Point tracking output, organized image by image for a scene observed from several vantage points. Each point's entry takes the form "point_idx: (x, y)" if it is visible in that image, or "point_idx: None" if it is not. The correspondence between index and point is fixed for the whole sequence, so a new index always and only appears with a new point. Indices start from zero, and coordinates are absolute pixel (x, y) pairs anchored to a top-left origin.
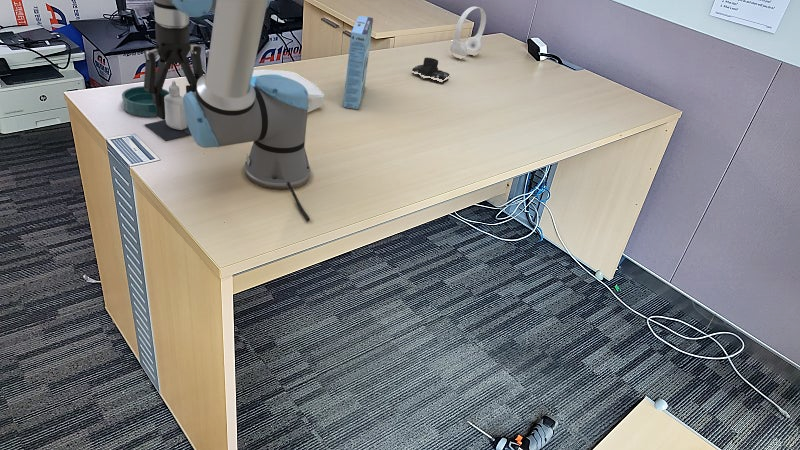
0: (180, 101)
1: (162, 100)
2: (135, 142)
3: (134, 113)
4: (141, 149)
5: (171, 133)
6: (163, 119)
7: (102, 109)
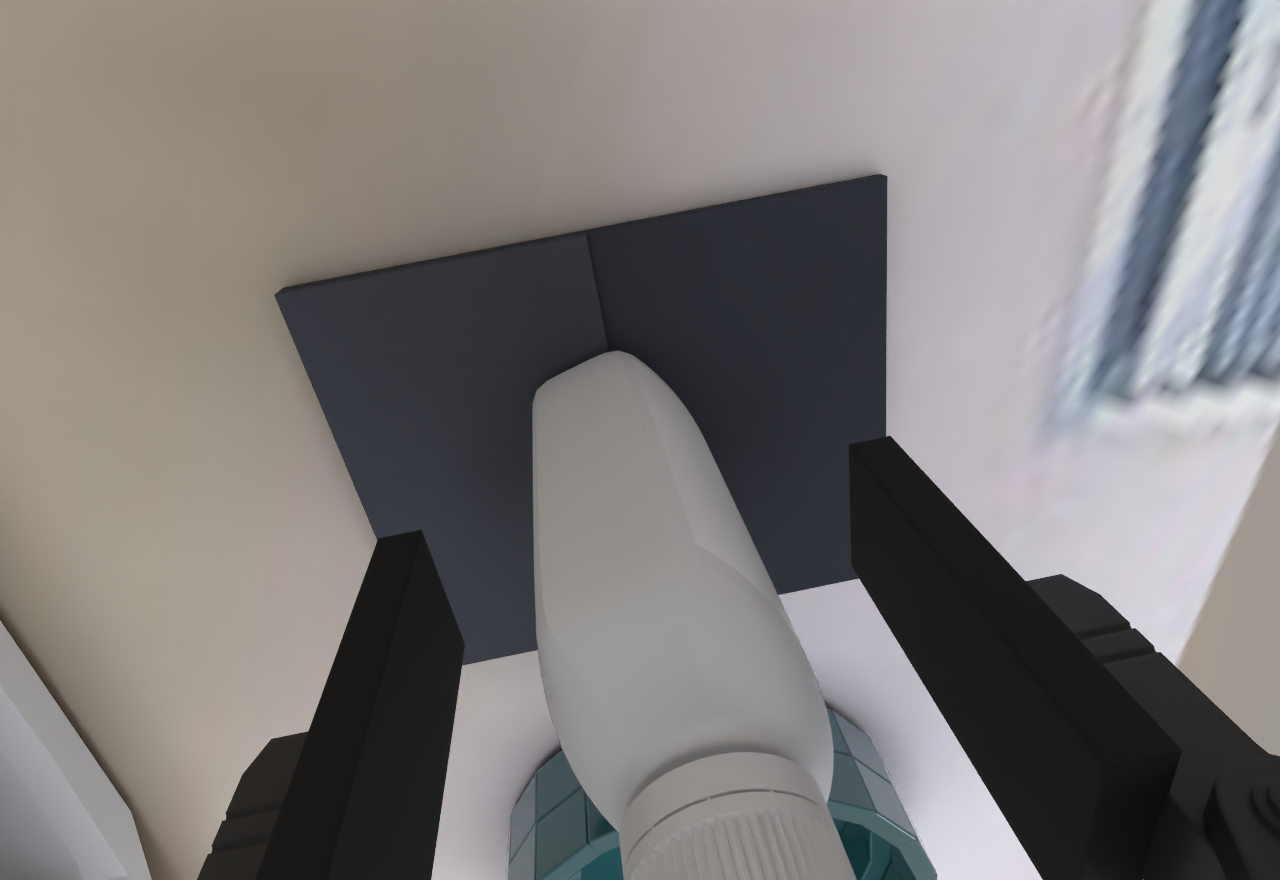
0: (675, 611)
1: (1057, 648)
2: (1156, 255)
3: (870, 743)
4: (1220, 57)
5: (748, 326)
6: (878, 440)
7: (997, 830)
